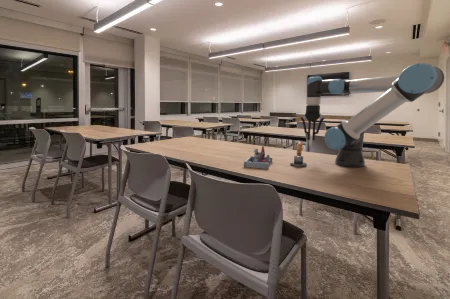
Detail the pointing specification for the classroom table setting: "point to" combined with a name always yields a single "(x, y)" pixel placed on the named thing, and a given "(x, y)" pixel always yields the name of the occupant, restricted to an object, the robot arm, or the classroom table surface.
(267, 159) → the grey red spired block
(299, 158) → the crank
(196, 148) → the classroom table surface
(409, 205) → the classroom table surface
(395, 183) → the classroom table surface
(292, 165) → the crank base
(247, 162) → the tray
